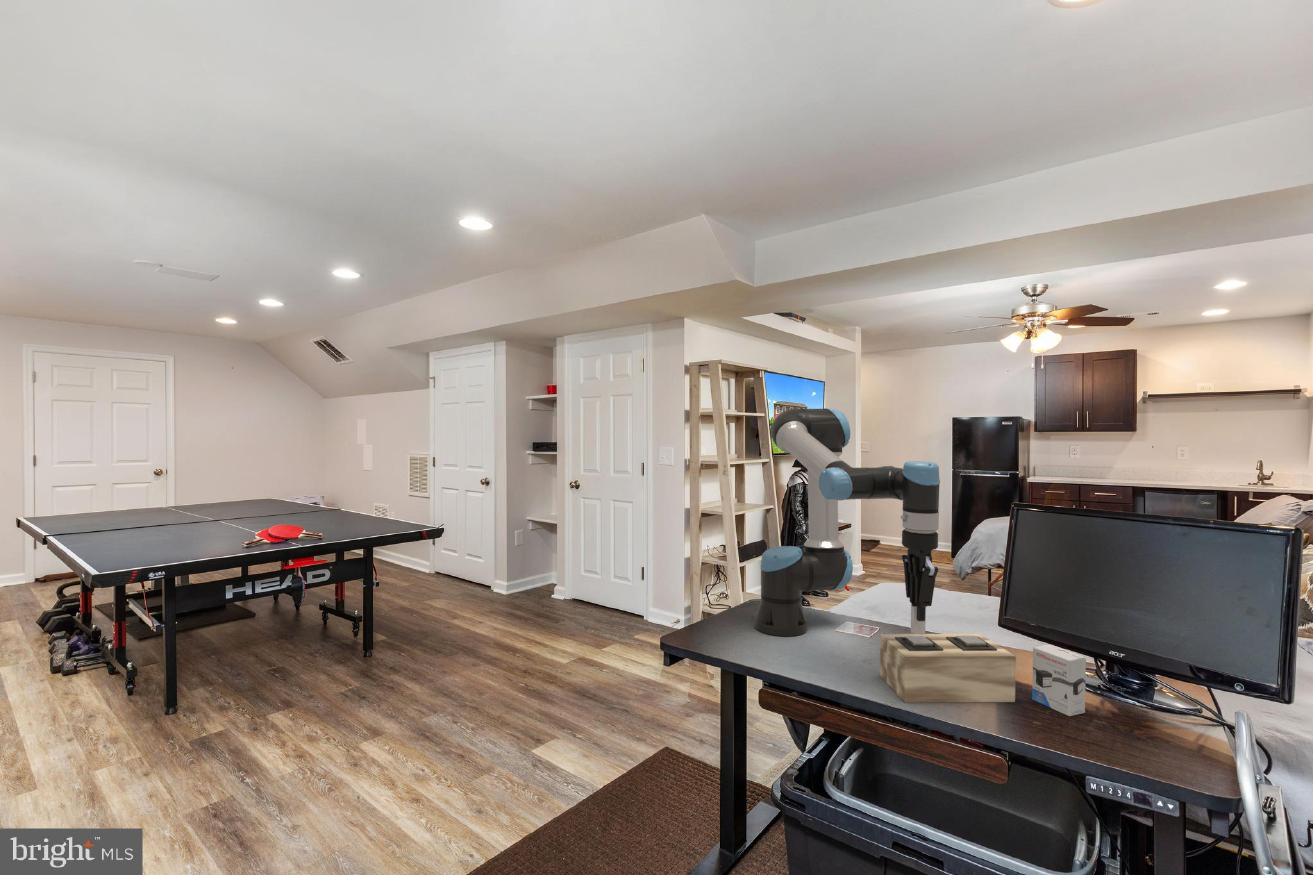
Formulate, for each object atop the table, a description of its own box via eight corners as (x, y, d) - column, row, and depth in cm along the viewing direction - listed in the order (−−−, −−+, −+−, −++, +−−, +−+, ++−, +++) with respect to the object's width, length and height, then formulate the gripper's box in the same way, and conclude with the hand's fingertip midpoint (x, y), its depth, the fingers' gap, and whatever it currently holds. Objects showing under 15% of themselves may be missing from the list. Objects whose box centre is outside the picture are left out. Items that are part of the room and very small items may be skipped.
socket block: (879, 675, 144) (880, 632, 144) (979, 675, 145) (979, 632, 144) (905, 702, 130) (905, 654, 130) (1014, 701, 131) (1015, 654, 131)
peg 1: (904, 676, 139) (904, 635, 139) (923, 676, 140) (923, 635, 139) (912, 684, 135) (913, 642, 135) (932, 684, 135) (932, 642, 135)
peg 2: (955, 676, 140) (956, 635, 140) (974, 676, 140) (975, 635, 140) (965, 684, 135) (966, 642, 135) (985, 684, 135) (985, 642, 135)
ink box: (1030, 699, 132) (1031, 646, 132) (1046, 696, 134) (1047, 643, 134) (1069, 717, 124) (1070, 660, 124) (1086, 713, 126) (1087, 657, 126)
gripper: (891, 524, 143) (889, 623, 144) (916, 535, 130) (914, 643, 131) (923, 525, 143) (921, 623, 144) (951, 535, 130) (948, 643, 131)
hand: (917, 633), depth 137 cm, fingers closed
